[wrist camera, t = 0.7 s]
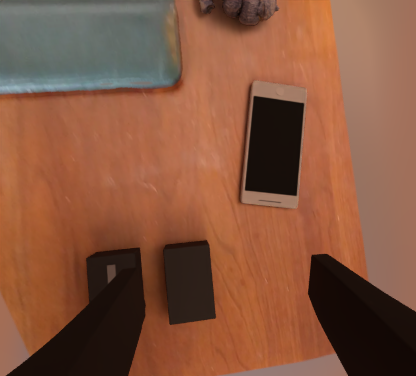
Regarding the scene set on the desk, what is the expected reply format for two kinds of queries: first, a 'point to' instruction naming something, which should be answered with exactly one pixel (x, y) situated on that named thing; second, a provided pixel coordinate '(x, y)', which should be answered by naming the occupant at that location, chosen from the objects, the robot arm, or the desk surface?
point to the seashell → (244, 9)
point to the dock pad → (110, 268)
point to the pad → (189, 282)
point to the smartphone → (274, 145)
